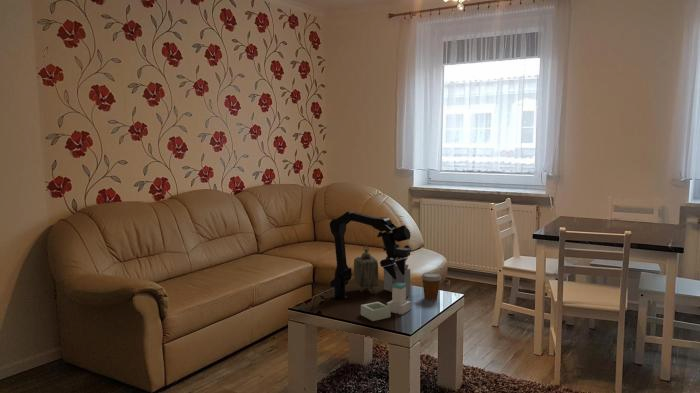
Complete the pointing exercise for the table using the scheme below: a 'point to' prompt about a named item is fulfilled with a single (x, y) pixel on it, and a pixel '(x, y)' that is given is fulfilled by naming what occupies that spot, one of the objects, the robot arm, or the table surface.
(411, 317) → the table surface
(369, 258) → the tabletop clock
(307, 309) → the table surface
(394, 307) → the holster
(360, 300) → the table surface
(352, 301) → the table surface
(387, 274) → the skincare box
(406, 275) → the perfume bottle
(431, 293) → the disposable coffee cup
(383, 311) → the socket block
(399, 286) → the plug
